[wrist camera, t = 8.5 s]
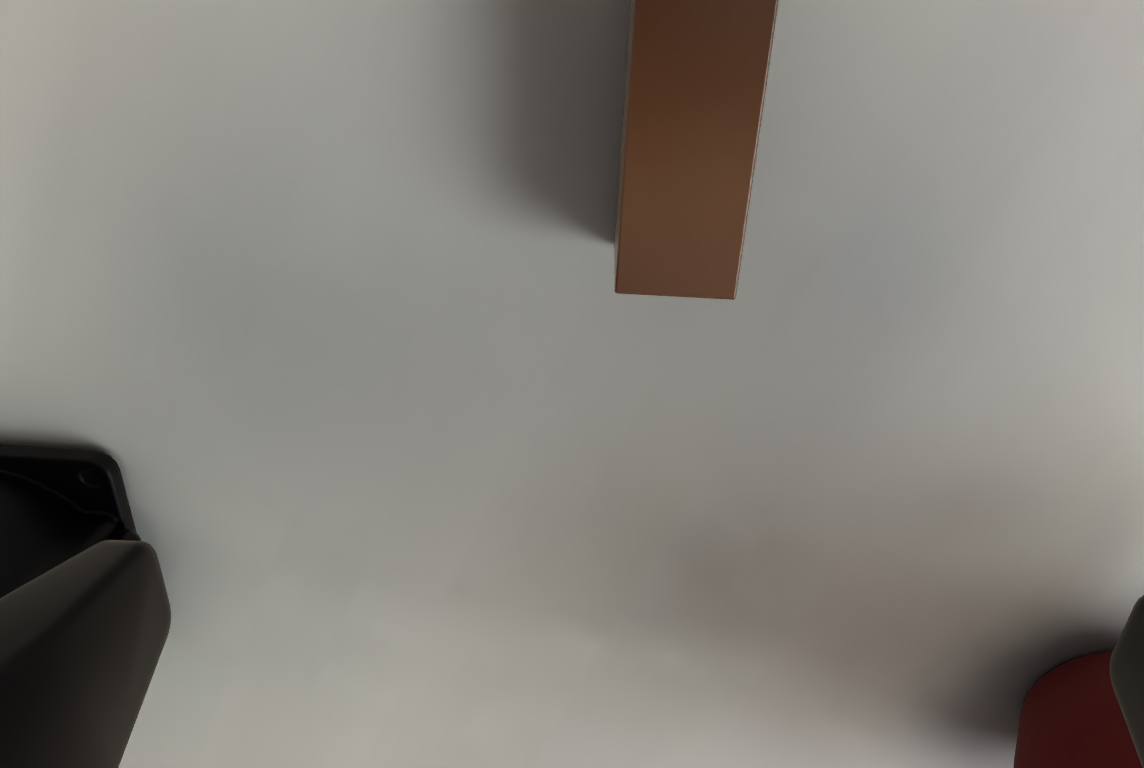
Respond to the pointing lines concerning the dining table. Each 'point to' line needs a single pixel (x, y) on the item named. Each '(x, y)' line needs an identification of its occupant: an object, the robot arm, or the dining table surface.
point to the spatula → (689, 143)
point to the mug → (1075, 720)
